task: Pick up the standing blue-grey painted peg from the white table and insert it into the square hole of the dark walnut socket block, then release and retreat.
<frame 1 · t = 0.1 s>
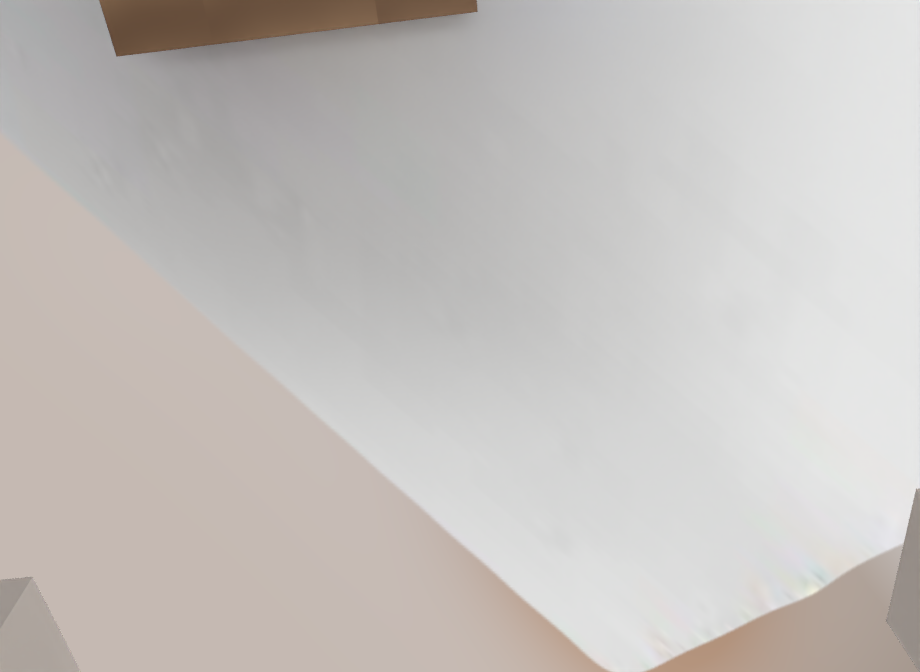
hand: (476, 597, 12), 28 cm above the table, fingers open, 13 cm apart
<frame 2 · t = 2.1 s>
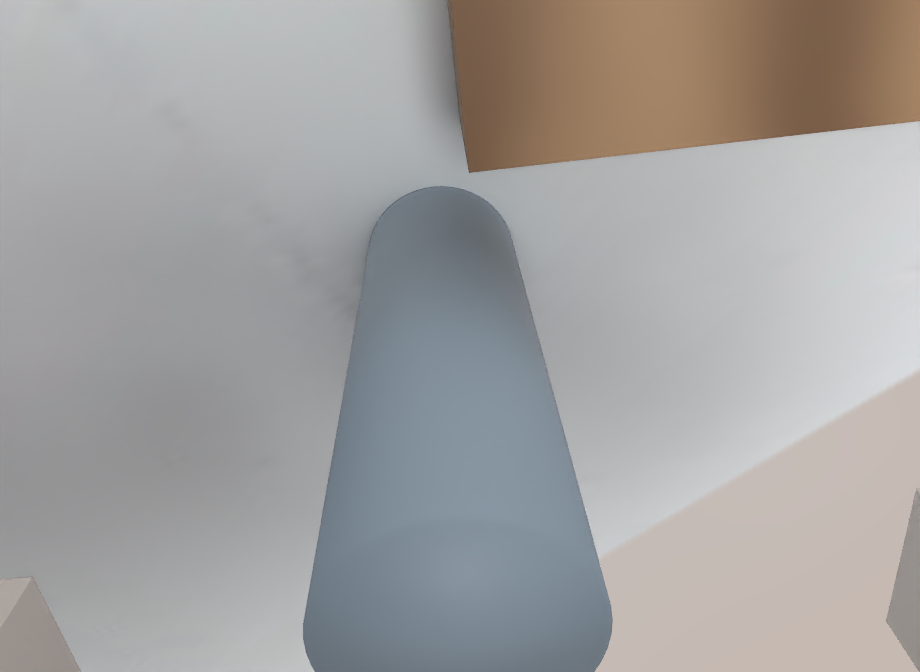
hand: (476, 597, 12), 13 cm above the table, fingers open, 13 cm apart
peg: (441, 256, 23), on the table
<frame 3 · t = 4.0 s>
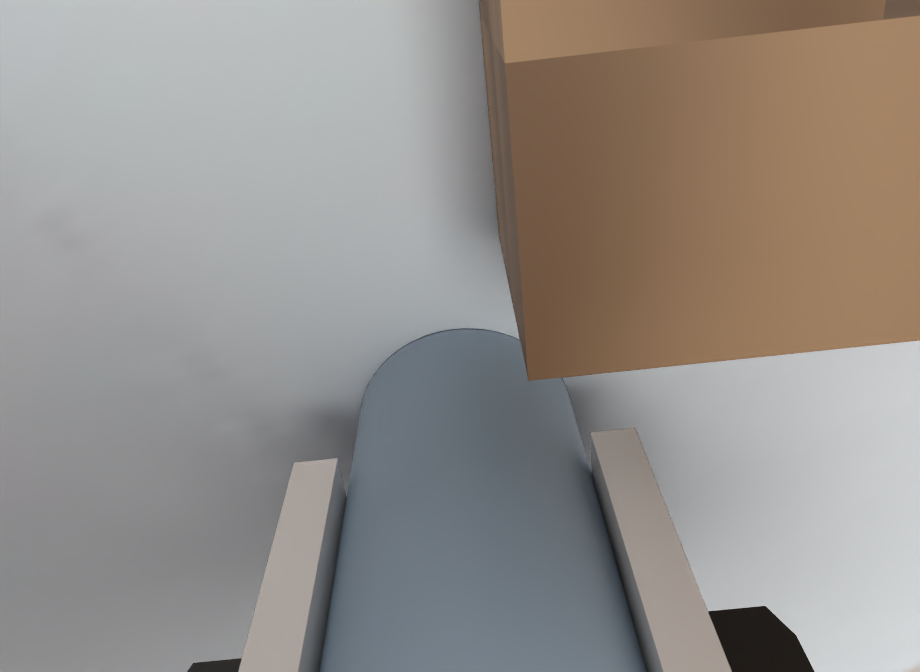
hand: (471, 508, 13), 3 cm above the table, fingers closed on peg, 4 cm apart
peg: (466, 422, 16), on the table, touching gripper
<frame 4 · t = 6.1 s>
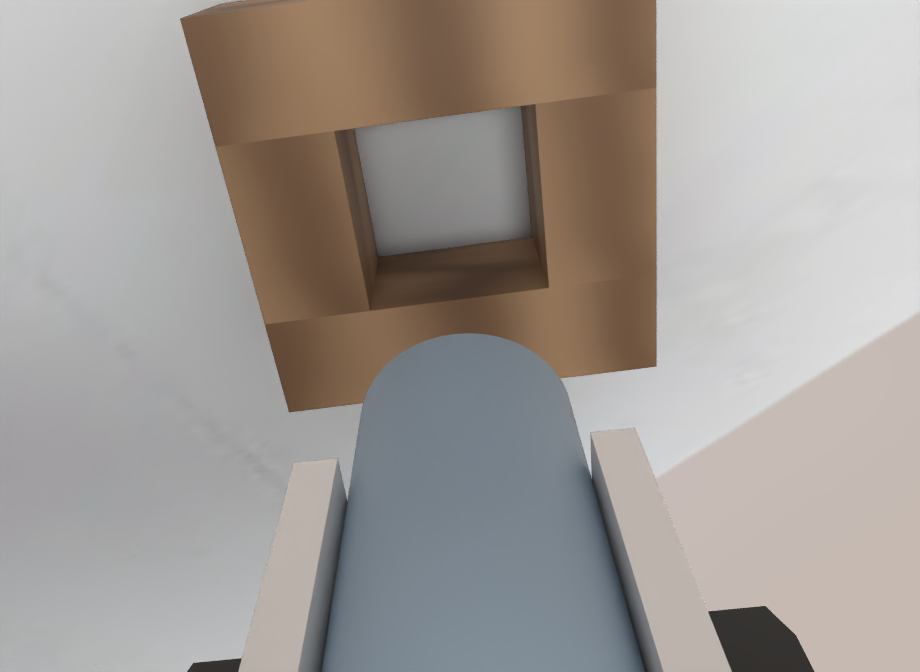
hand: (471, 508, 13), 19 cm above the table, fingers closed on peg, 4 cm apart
socket block: (444, 171, 30), on the table
peg: (466, 426, 16), point 16 cm above the table, touching gripper
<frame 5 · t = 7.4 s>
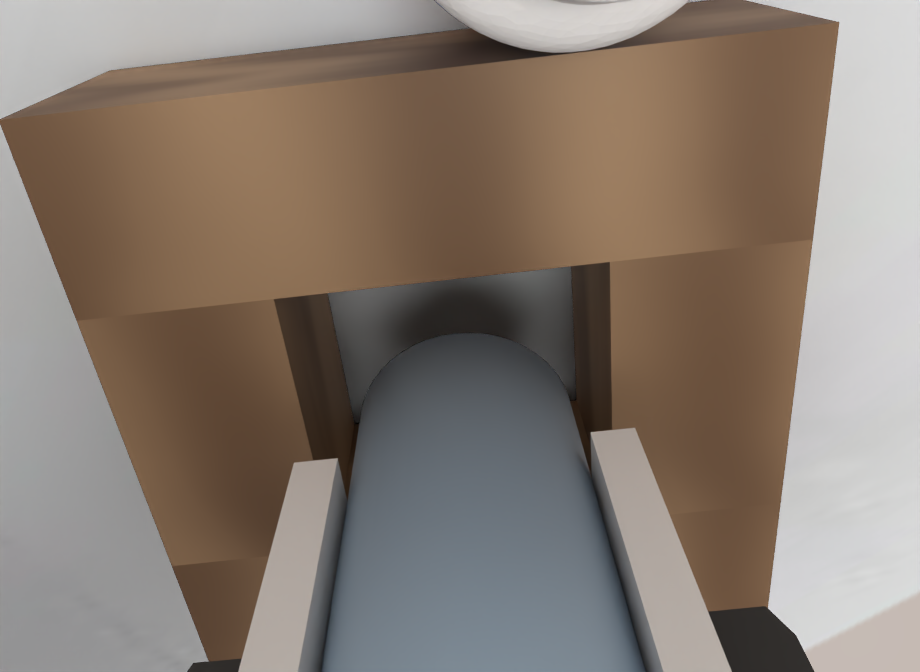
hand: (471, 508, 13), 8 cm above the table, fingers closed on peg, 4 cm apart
socket block: (452, 313, 20), on the table
peg: (466, 426, 16), point 5 cm above the table, touching gripper
when the fingers open (6 cm above the table, at t = 8.4 s): peg drops 3 cm, resting in socket block.
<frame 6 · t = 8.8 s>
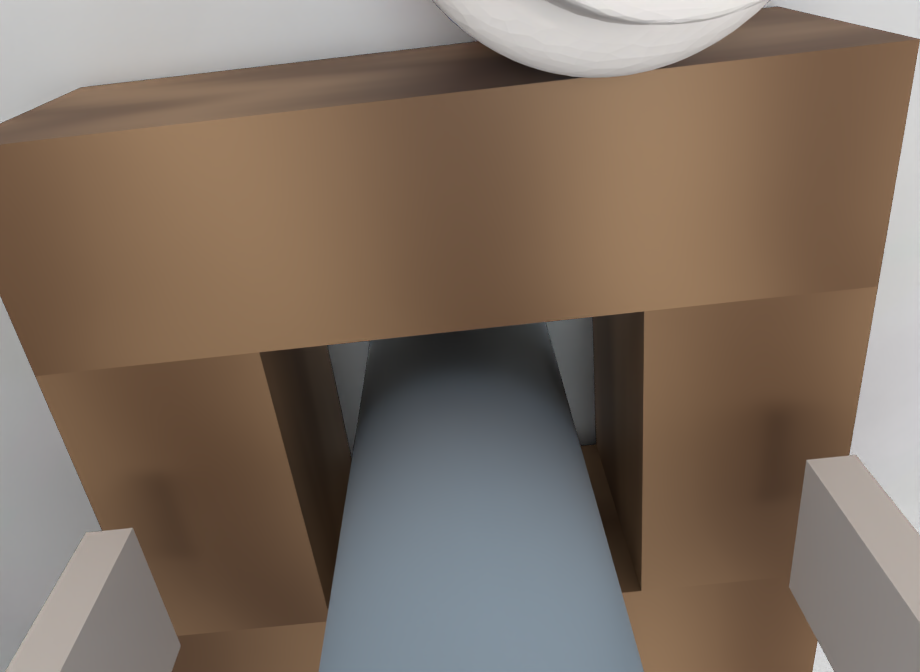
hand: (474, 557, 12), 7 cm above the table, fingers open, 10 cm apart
socket block: (461, 351, 18), on the table
peg: (460, 354, 19), resting in socket block
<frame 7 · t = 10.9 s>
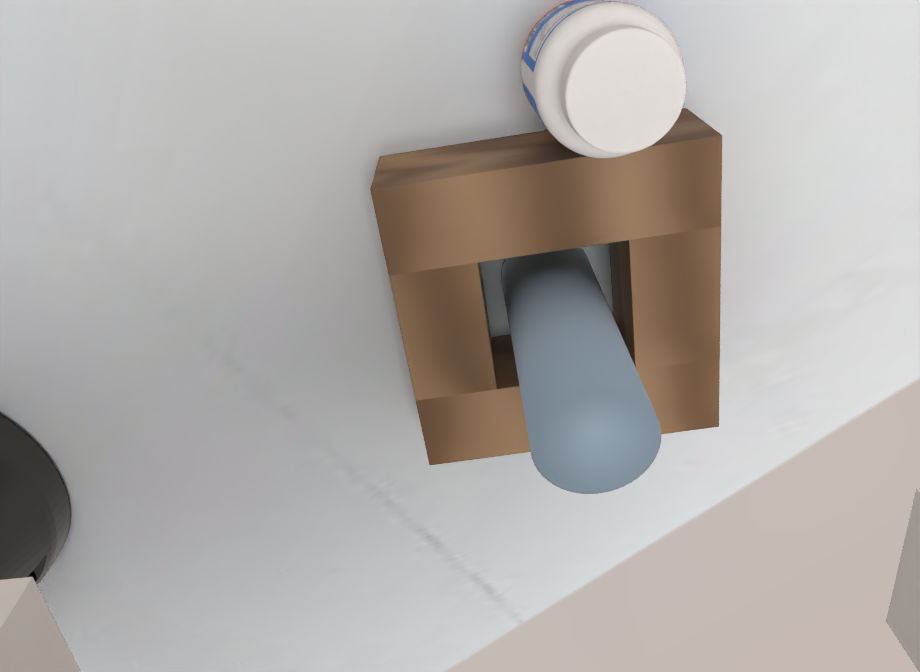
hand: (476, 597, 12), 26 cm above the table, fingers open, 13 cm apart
socket block: (546, 272, 38), on the table
peg: (545, 274, 38), resting in socket block
pill bottle: (579, 63, 34), on the table, touching socket block
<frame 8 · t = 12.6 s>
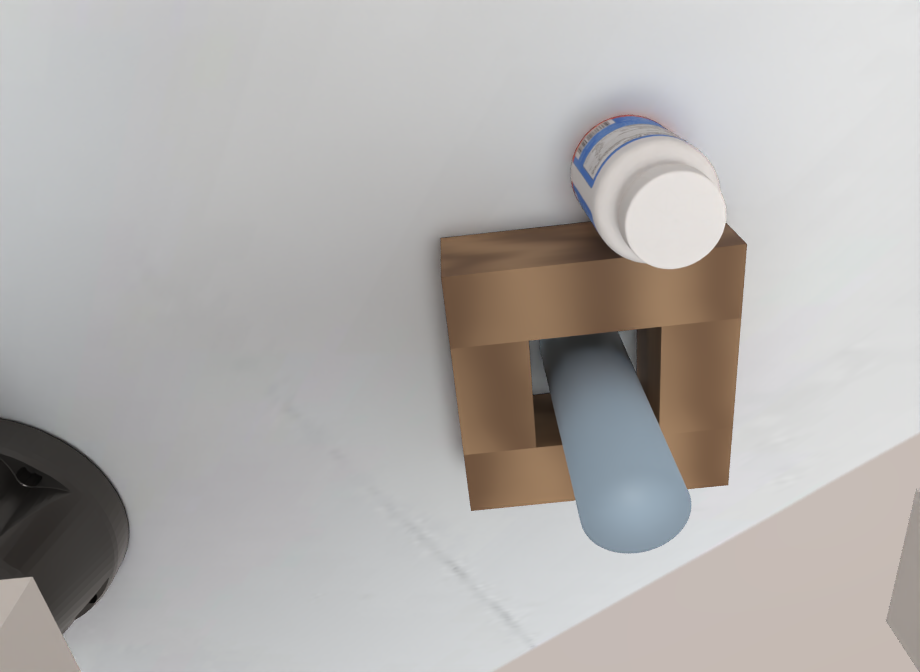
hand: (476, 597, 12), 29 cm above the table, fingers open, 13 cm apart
socket block: (579, 341, 42), on the table
peg: (579, 343, 43), resting in socket block
pill bottle: (621, 165, 39), on the table, touching socket block
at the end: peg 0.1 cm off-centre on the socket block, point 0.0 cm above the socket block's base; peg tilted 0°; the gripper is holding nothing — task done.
